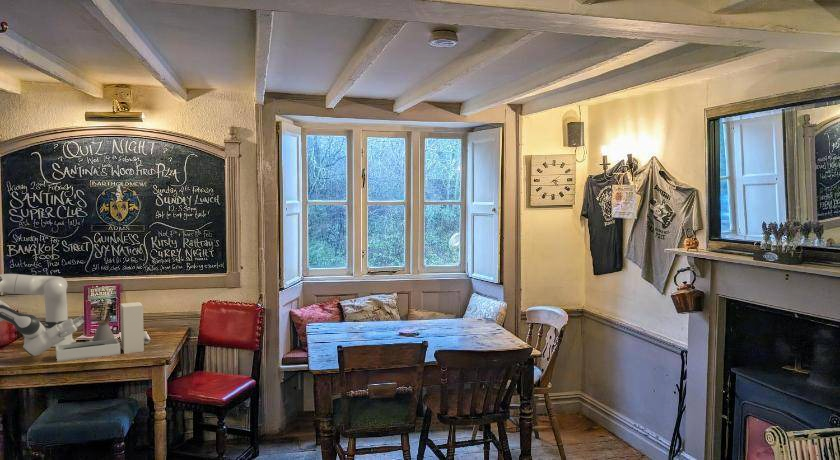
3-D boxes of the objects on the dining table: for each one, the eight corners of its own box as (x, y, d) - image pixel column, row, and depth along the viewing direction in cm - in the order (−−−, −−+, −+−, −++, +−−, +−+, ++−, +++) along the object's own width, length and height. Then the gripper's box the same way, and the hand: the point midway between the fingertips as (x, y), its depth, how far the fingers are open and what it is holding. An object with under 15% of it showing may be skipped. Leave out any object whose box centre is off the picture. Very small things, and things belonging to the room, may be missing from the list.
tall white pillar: (121, 348, 348) (120, 303, 346) (140, 346, 353) (139, 302, 351) (124, 353, 338) (123, 307, 336) (143, 351, 343) (143, 305, 341)
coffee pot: (111, 344, 357) (111, 319, 356) (90, 345, 354) (89, 320, 353) (121, 336, 377) (121, 312, 377) (101, 336, 375) (100, 312, 374)
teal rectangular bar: (62, 355, 329) (62, 348, 328) (104, 350, 340) (104, 343, 339) (63, 357, 325) (63, 350, 325) (105, 352, 336) (105, 345, 336)
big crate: (55, 356, 331) (55, 345, 330) (117, 349, 347) (117, 338, 347) (57, 362, 320) (56, 350, 319) (120, 354, 336) (120, 343, 336)
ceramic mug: (127, 345, 356) (127, 332, 355) (133, 341, 364) (133, 329, 363) (146, 345, 356) (146, 332, 356) (151, 342, 364) (151, 329, 364)
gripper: (54, 333, 315) (80, 317, 321) (53, 325, 332) (77, 310, 338) (62, 342, 317) (87, 327, 323) (60, 334, 334) (84, 320, 340)
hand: (82, 318), depth 331 cm, fingers open, 8 cm apart
